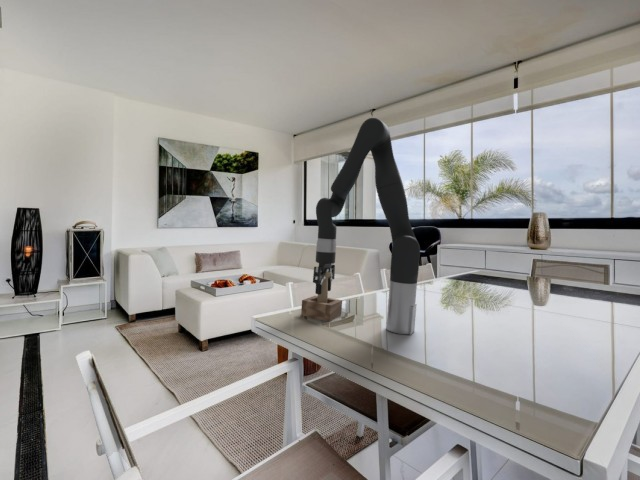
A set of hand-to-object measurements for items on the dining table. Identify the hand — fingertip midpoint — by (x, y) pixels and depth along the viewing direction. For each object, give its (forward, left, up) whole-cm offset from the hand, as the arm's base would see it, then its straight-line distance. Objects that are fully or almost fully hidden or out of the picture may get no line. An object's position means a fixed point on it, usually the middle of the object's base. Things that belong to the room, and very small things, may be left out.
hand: (323, 292), depth 128 cm
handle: (0, 0, -7) cm, 7 cm away
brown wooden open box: (0, 0, -9) cm, 9 cm away
